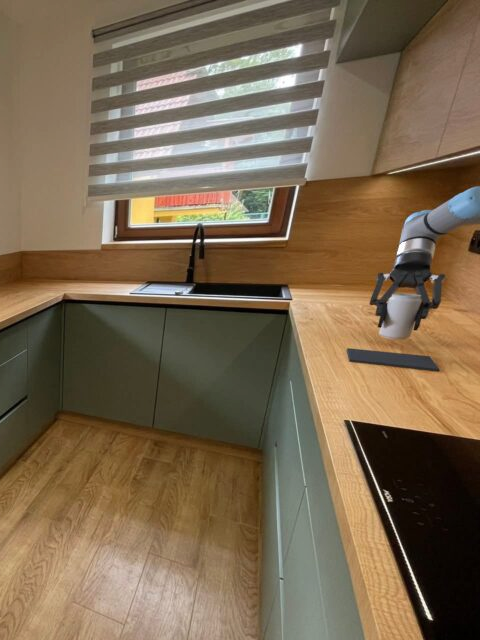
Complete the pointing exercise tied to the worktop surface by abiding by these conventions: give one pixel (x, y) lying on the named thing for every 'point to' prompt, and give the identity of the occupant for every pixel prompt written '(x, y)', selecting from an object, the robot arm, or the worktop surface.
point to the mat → (392, 359)
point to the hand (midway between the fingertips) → (398, 326)
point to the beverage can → (400, 316)
